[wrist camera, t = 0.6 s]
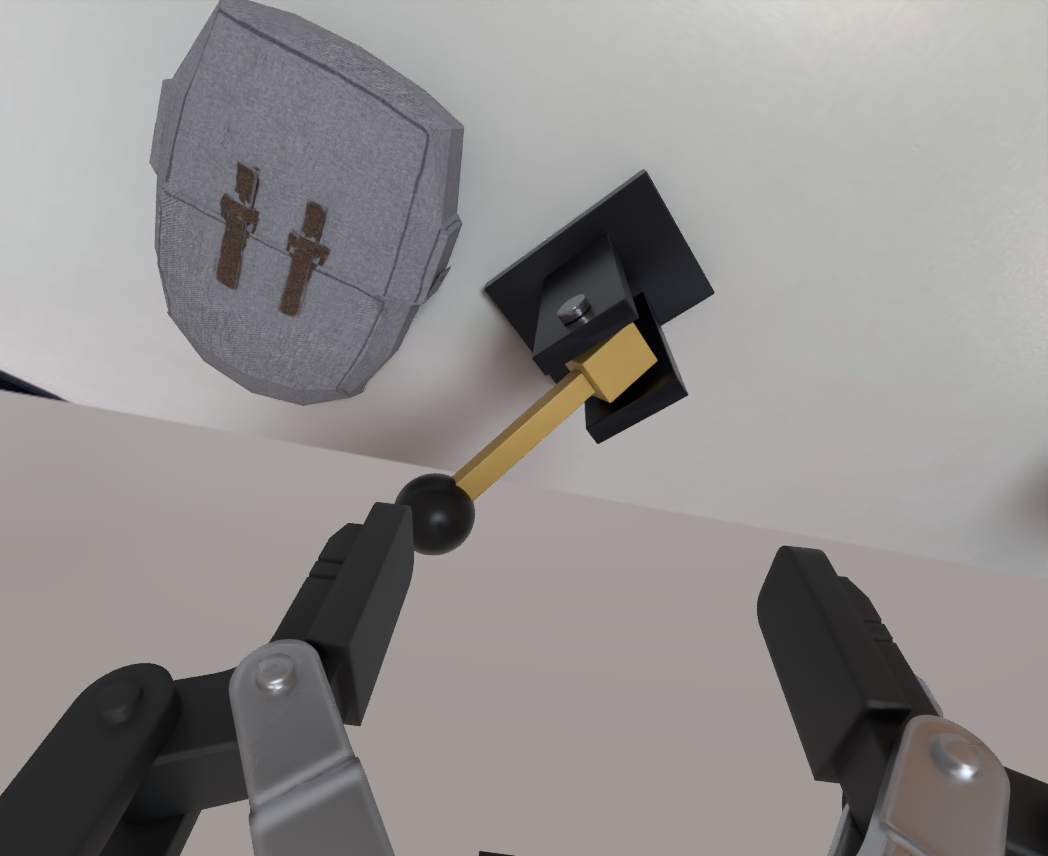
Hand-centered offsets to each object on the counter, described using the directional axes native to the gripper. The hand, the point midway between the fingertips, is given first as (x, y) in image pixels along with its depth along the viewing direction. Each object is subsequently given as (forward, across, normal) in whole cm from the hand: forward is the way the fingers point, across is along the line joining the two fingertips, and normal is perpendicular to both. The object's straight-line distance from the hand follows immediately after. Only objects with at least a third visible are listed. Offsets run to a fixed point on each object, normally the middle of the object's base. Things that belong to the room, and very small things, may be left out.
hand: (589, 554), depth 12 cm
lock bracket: (+24, +1, -1) cm, 24 cm away
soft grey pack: (+24, -15, +1) cm, 29 cm away
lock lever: (+12, -3, -4) cm, 13 cm away
